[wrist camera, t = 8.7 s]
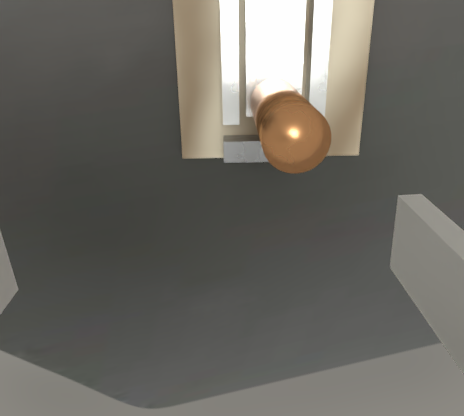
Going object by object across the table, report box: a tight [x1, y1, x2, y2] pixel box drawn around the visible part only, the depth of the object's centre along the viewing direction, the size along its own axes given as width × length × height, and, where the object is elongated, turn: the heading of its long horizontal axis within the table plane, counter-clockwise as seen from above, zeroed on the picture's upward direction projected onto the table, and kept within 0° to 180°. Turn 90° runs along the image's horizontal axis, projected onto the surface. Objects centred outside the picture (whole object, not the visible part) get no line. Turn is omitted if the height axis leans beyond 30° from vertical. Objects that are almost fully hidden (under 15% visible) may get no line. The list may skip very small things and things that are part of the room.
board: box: [173, 0, 374, 158], centre depth 32 cm, size 14×15×1 cm
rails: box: [220, 0, 333, 163], centre depth 31 cm, size 7×12×2 cm, turn 1°
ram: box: [245, 0, 331, 173], centre depth 25 cm, size 8×12×12 cm, turn 1°
